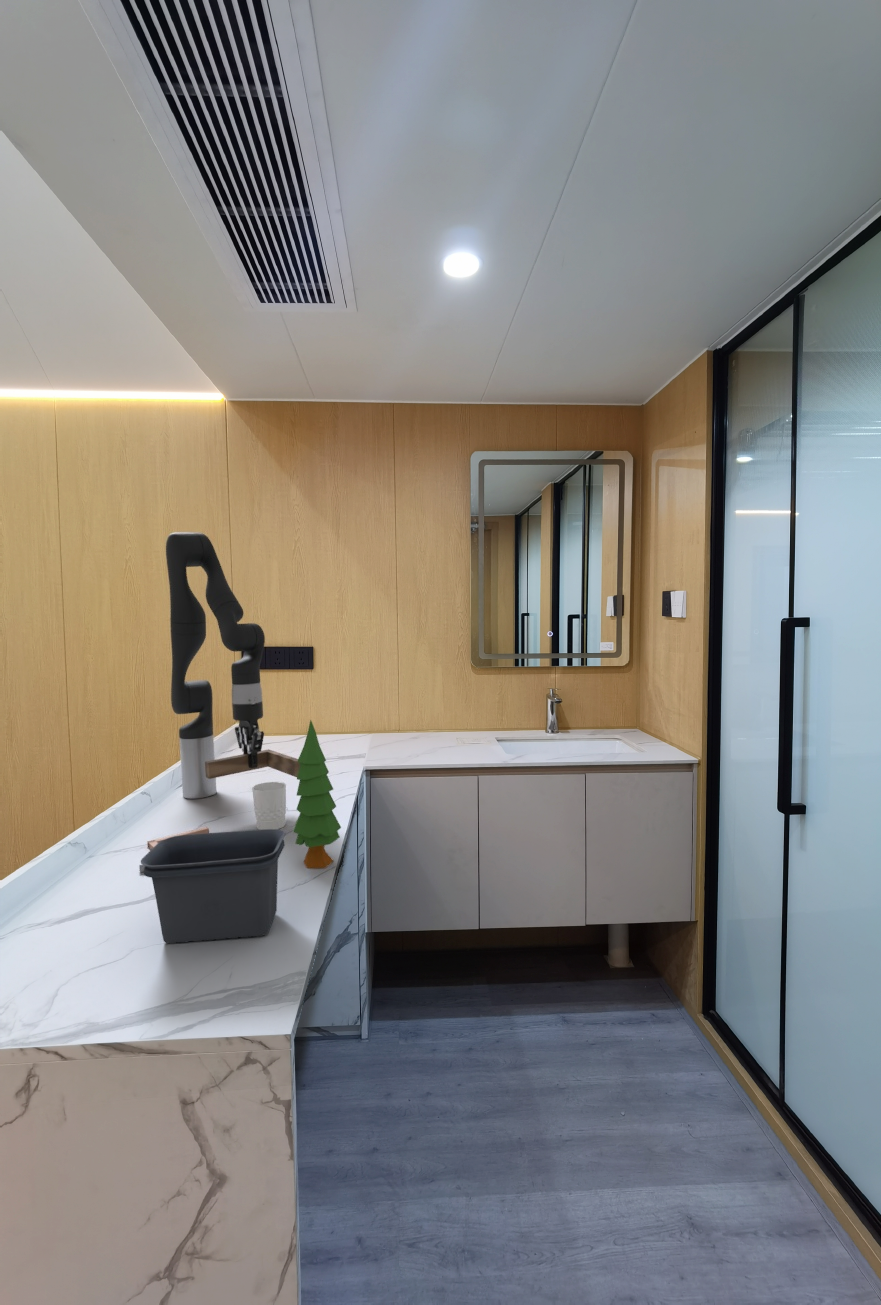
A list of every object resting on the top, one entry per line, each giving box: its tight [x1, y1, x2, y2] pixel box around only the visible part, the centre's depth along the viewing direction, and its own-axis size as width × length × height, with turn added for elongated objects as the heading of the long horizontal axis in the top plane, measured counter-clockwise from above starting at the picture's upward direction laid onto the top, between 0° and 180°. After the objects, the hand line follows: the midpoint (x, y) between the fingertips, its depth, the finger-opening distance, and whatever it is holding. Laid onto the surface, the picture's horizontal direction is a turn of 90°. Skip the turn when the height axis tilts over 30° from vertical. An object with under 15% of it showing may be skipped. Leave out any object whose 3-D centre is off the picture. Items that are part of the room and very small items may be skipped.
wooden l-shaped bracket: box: [205, 749, 300, 779], centre depth 157 cm, size 19×17×4 cm
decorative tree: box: [293, 719, 342, 869], centre depth 130 cm, size 10×9×30 cm
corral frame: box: [146, 826, 210, 850], centre depth 143 cm, size 15×14×1 cm
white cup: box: [252, 781, 287, 830], centre depth 155 cm, size 8×8×10 cm
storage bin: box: [140, 829, 286, 944], centre depth 106 cm, size 21×16×14 cm
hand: (250, 766), depth 165 cm, fingers closed on wooden l-shaped bracket, 2 cm apart
